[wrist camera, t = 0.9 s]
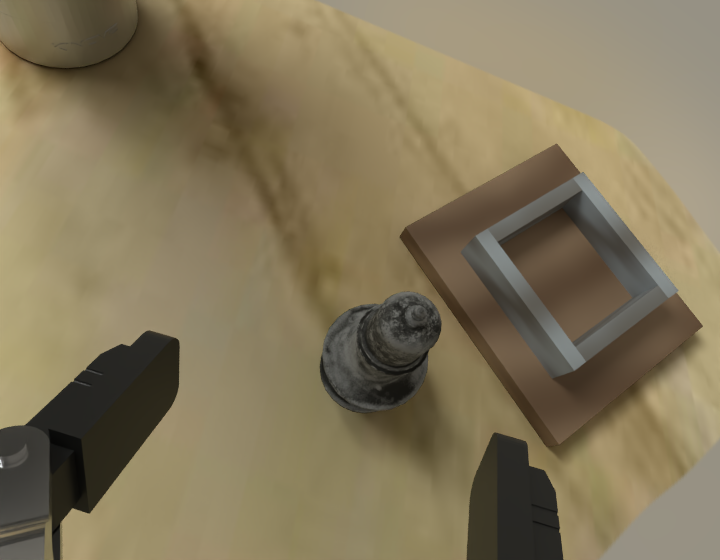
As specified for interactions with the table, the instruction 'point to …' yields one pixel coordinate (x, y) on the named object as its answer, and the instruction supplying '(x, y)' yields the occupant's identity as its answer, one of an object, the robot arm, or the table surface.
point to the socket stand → (551, 290)
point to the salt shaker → (379, 352)
